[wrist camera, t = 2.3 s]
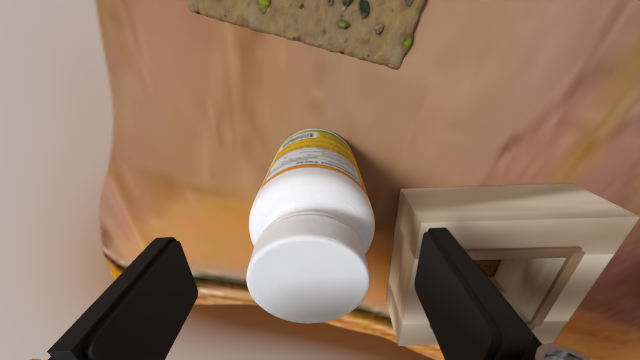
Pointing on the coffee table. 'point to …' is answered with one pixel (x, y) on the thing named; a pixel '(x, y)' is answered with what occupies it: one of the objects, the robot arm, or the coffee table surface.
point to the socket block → (509, 248)
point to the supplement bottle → (311, 231)
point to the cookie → (327, 23)
